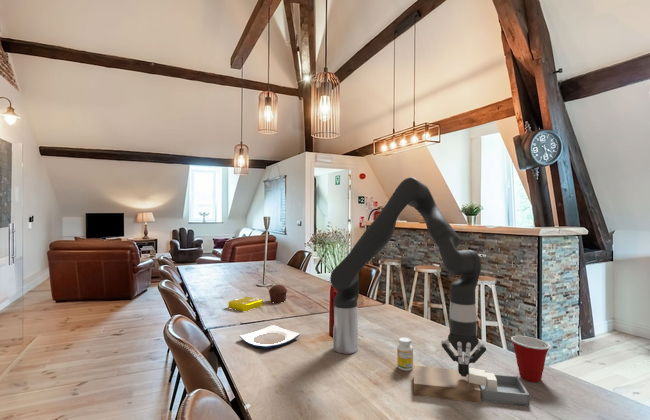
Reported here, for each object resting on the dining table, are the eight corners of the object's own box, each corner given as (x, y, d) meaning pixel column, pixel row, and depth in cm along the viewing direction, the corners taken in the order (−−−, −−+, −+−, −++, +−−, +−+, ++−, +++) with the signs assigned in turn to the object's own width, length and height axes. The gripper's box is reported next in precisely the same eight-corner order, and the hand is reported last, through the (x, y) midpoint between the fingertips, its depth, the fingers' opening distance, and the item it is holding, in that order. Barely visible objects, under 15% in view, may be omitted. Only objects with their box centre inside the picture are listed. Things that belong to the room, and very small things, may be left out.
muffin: (265, 301, 211) (264, 285, 212) (279, 298, 219) (279, 282, 219) (276, 305, 203) (275, 288, 203) (291, 301, 210) (290, 285, 210)
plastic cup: (560, 385, 104) (559, 346, 104) (526, 387, 103) (525, 347, 103) (535, 369, 115) (534, 333, 115) (504, 371, 114) (503, 335, 114)
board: (414, 395, 100) (413, 383, 100) (414, 376, 111) (414, 365, 111) (480, 403, 95) (480, 390, 95) (473, 382, 107) (473, 371, 107)
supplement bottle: (409, 372, 114) (408, 343, 114) (394, 368, 118) (394, 340, 118) (416, 366, 118) (415, 339, 118) (402, 362, 122) (401, 335, 122)
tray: (481, 400, 96) (481, 389, 96) (474, 381, 107) (474, 372, 107) (529, 405, 93) (529, 394, 93) (518, 386, 104) (517, 376, 104)
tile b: (487, 379, 98) (497, 380, 97) (484, 372, 102) (493, 373, 102) (487, 395, 98) (497, 396, 97) (484, 387, 102) (494, 388, 102)
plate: (303, 339, 147) (303, 333, 147) (265, 354, 132) (265, 347, 132) (273, 329, 161) (273, 323, 161) (236, 342, 146) (235, 335, 146)
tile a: (469, 382, 99) (469, 374, 99) (468, 375, 104) (468, 367, 104) (486, 385, 98) (486, 377, 98) (484, 378, 102) (484, 370, 102)
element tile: (246, 303, 210) (246, 295, 210) (264, 306, 201) (264, 298, 201) (227, 309, 198) (226, 300, 198) (244, 313, 189) (244, 304, 189)
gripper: (484, 315, 104) (485, 372, 104) (438, 312, 107) (439, 367, 107) (489, 323, 97) (490, 384, 96) (440, 319, 100) (440, 378, 100)
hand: (463, 375), depth 102 cm, fingers closed
